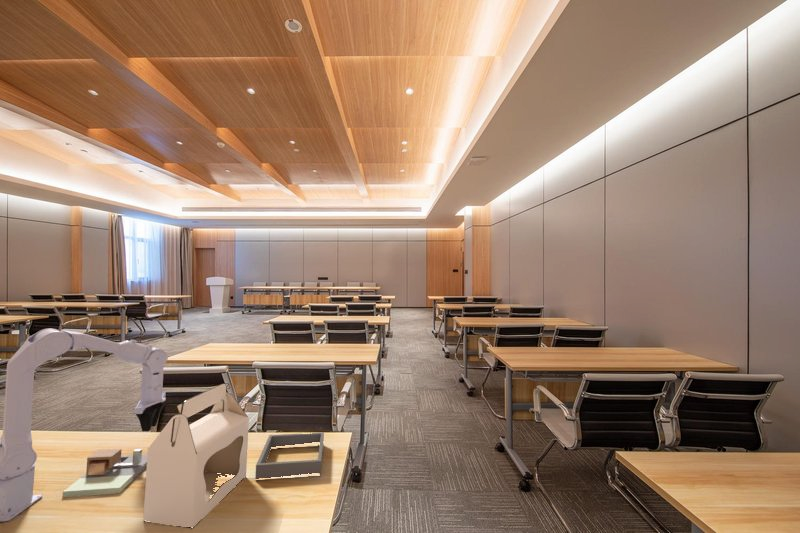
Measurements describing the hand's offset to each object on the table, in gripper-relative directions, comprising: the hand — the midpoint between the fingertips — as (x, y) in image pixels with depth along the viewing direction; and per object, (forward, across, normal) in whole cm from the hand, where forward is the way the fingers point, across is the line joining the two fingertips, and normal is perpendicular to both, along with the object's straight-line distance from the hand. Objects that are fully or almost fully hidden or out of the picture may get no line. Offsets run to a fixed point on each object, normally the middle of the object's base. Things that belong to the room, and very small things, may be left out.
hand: (149, 428), depth 109 cm
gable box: (+10, -22, -24) cm, 34 cm away
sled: (+8, -7, +4) cm, 12 cm away
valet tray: (+10, -6, -46) cm, 47 cm away
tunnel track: (+10, -8, +5) cm, 14 cm away
